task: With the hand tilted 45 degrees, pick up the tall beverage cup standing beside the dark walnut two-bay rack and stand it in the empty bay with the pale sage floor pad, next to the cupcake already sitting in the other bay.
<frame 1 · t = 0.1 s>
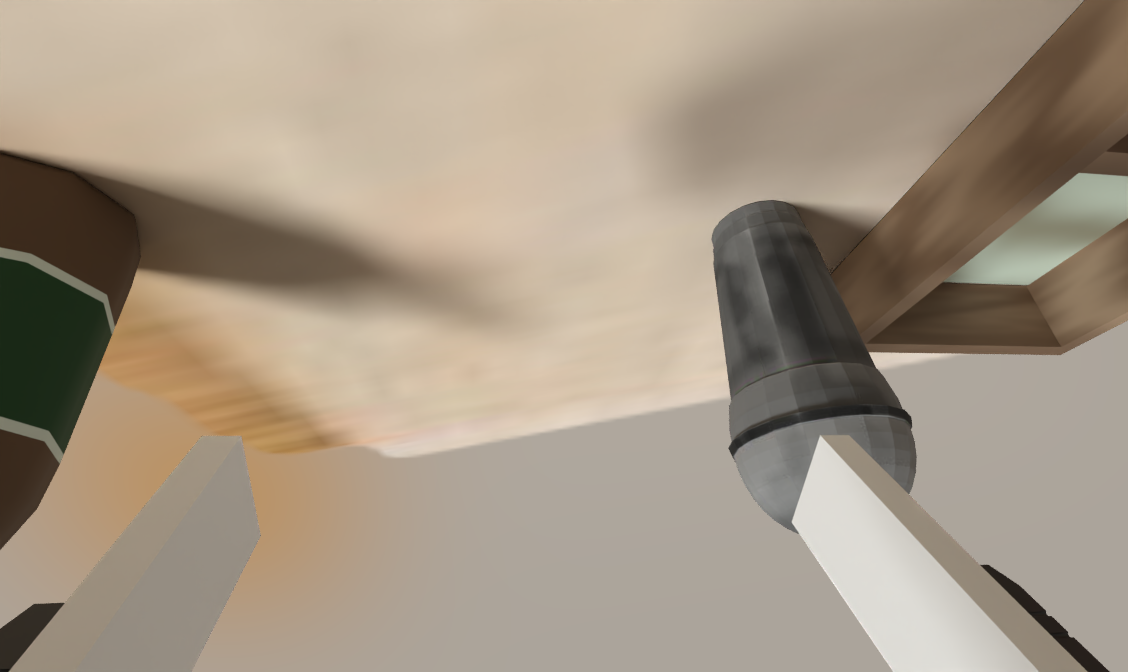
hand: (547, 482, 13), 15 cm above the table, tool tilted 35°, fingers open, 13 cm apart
beer bottle: (49, 208, 25), on the table
beverage cup: (753, 227, 29), on the table
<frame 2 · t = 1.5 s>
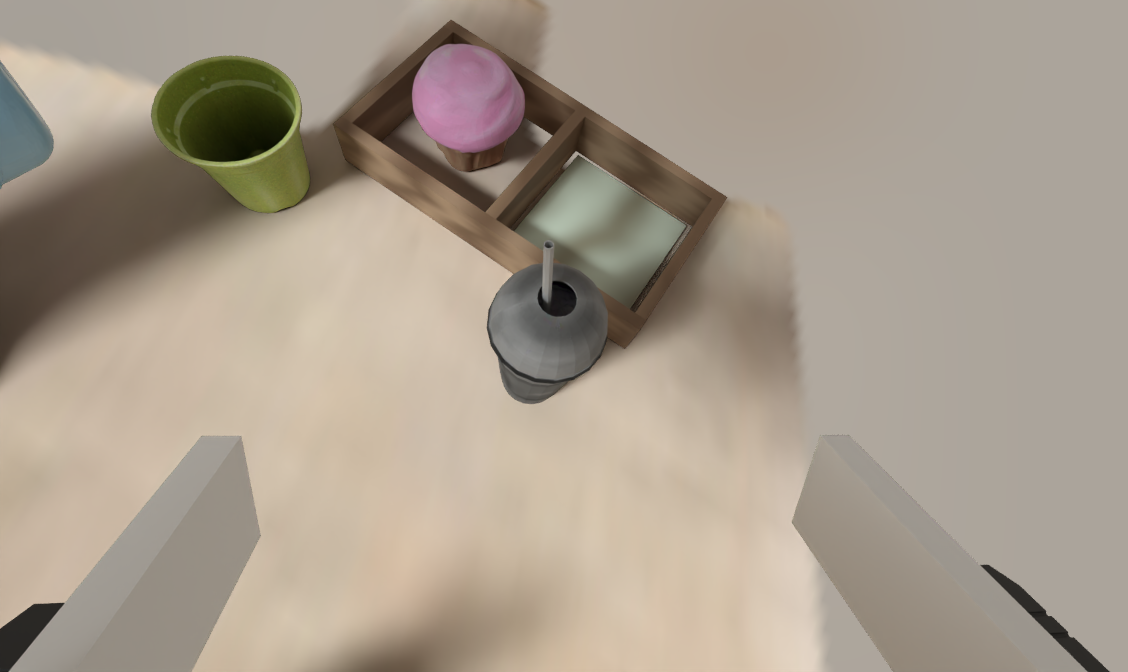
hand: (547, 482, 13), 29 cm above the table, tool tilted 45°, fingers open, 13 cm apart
plant pot: (272, 184, 46), on the table
cupcake: (468, 153, 50), resting in rack
beverage cup: (530, 376, 44), on the table
rack: (532, 193, 49), on the table
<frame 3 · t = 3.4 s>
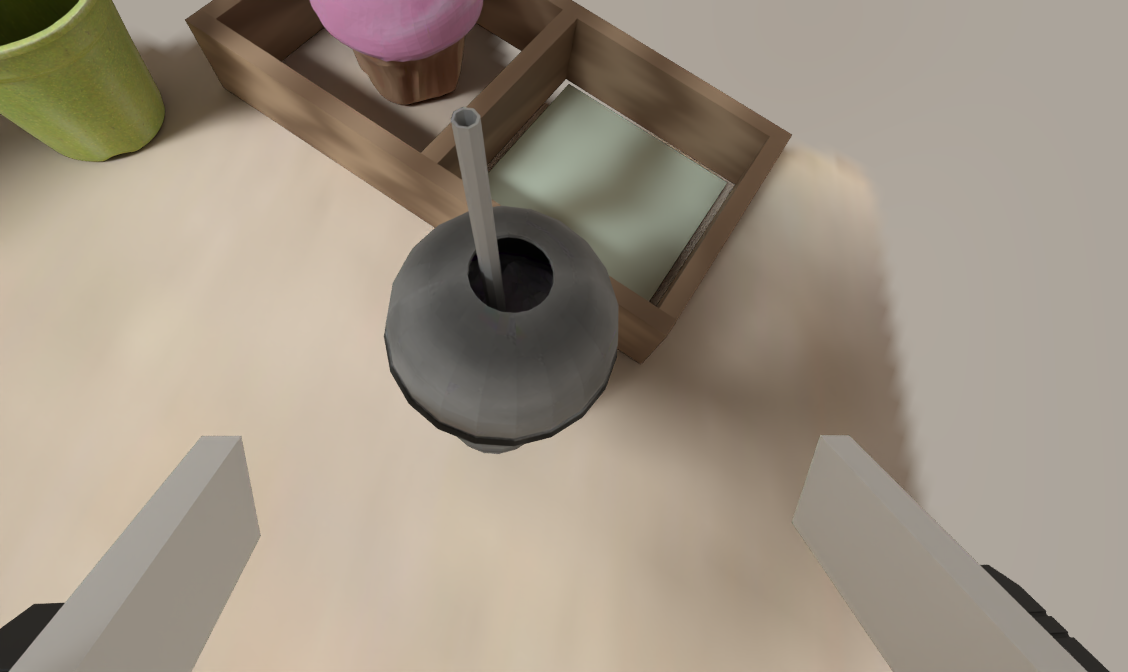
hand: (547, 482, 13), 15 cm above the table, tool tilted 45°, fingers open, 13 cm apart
plant pot: (107, 121, 30), on the table
cupcake: (410, 80, 34), resting in rack
beverage cup: (495, 409, 28), on the table
rack: (502, 137, 34), on the table
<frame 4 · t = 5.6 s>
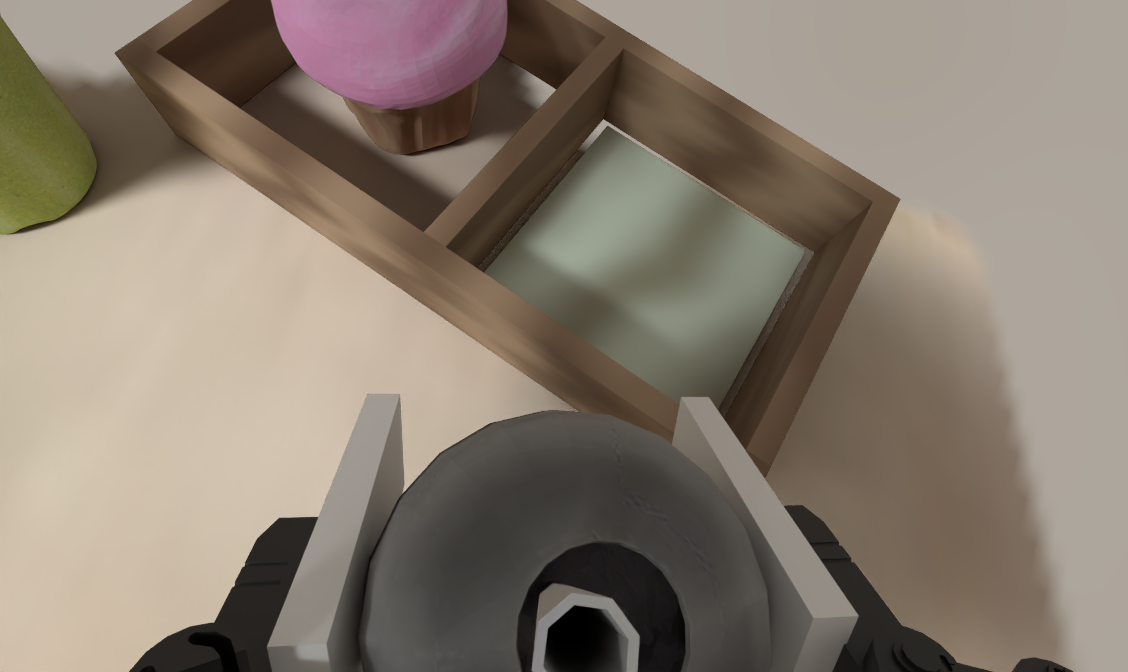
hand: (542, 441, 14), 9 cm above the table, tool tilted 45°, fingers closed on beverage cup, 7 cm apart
plant pot: (22, 179, 24), on the table
cupcake: (411, 122, 28), resting in rack
beverage cup: (520, 570, 21), on the table, touching gripper
rack: (525, 194, 27), on the table
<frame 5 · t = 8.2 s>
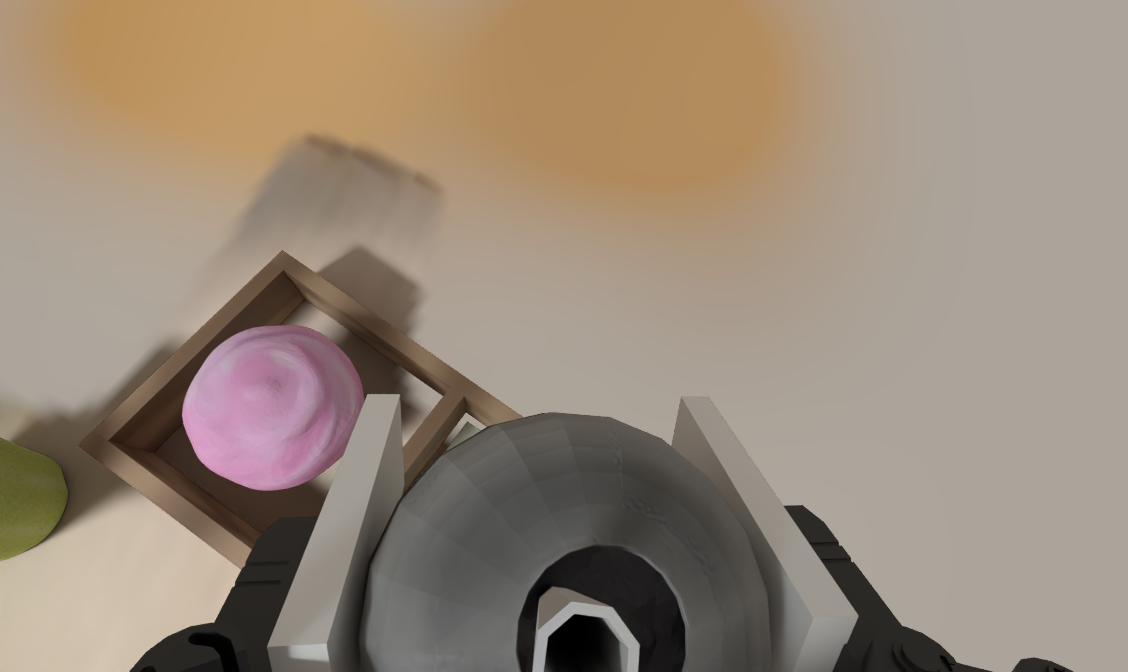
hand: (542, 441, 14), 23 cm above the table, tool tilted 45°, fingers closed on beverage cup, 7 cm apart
plant pot: (12, 506, 32), on the table
cupcake: (312, 427, 36), resting in rack
beverage cup: (520, 571, 21), point 15 cm above the table, touching gripper
rack: (397, 489, 35), on the table
when the fingers open (10 cm above the table, at t = 11.0 s): beverage cup drops 1 cm, resting on rack.
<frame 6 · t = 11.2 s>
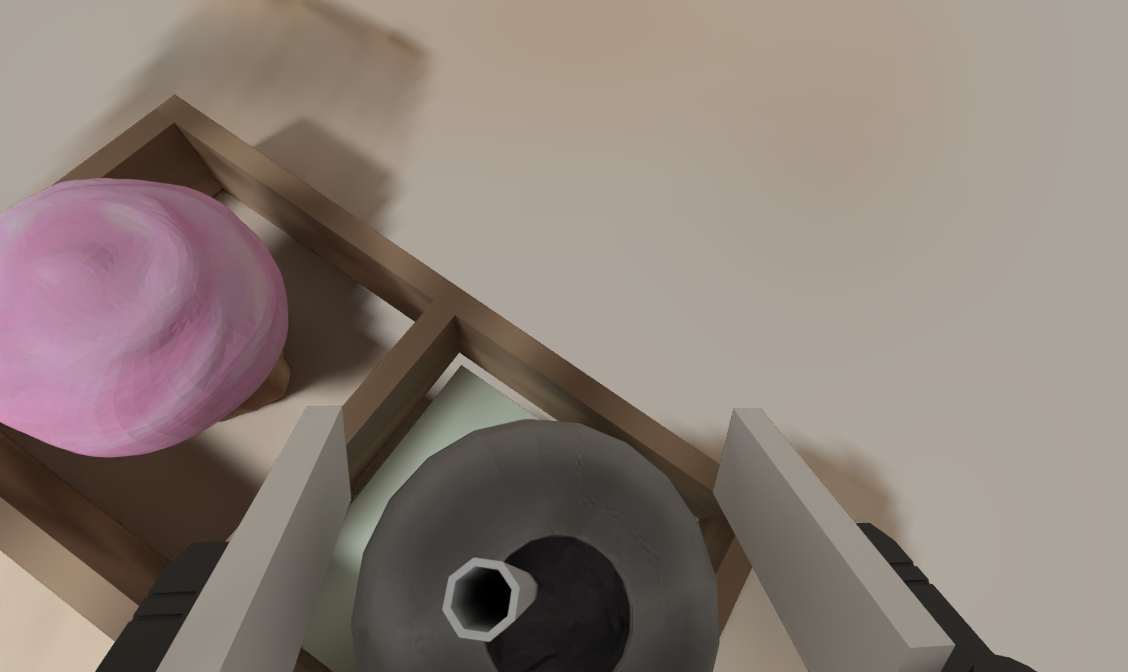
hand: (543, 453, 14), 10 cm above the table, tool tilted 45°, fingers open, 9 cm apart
cupcake: (225, 372, 24), resting in rack
beverage cup: (513, 569, 22), resting on rack
rack: (353, 465, 23), on the table
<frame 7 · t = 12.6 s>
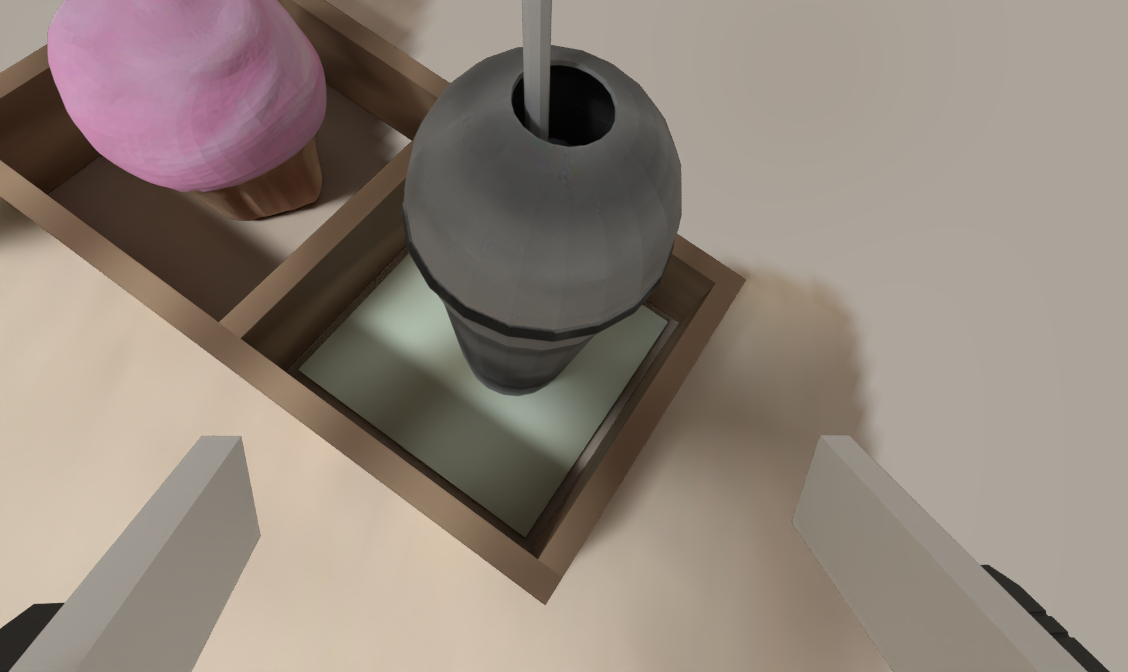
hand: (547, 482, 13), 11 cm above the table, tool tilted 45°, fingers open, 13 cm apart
cupcake: (264, 184, 27), resting in rack
beverage cup: (514, 349, 25), resting on rack
rack: (376, 262, 26), on the table
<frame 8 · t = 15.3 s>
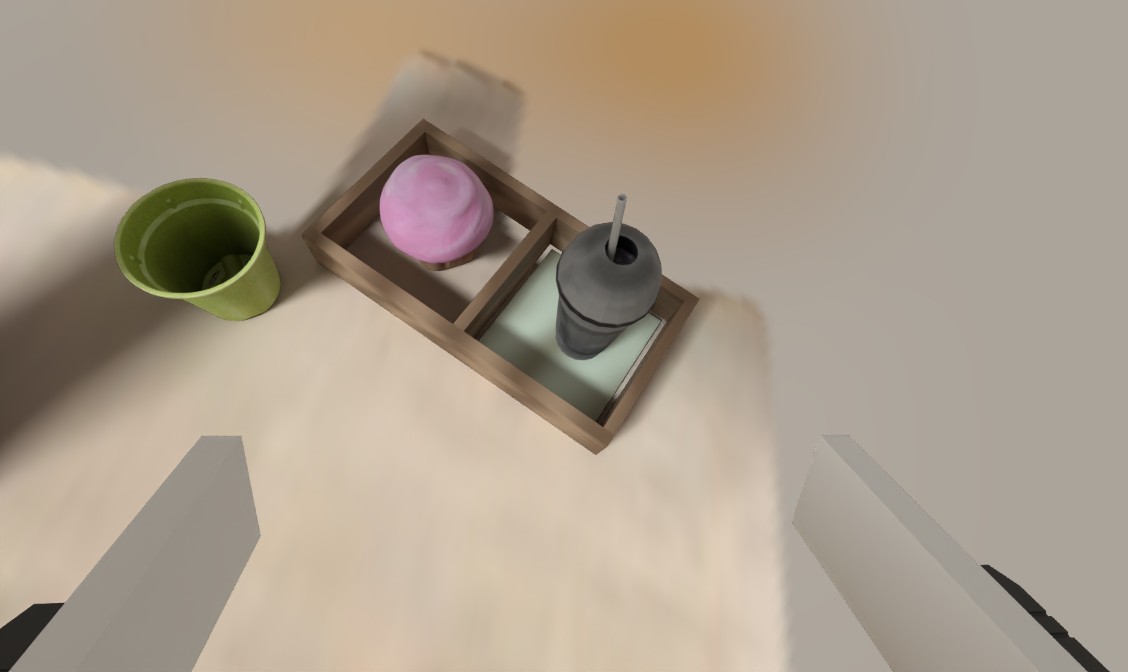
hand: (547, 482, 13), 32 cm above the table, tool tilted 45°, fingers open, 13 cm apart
plant pot: (243, 289, 46), on the table
cupcake: (441, 249, 50), resting in rack
beverage cup: (580, 336, 48), resting on rack
rack: (505, 291, 49), on the table
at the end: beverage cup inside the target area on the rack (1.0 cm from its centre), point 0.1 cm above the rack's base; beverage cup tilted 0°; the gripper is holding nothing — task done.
